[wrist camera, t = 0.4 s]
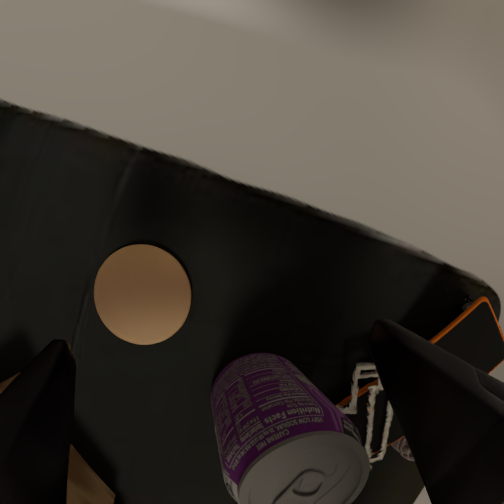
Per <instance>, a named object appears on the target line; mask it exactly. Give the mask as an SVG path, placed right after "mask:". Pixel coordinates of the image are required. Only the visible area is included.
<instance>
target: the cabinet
mask: <svg viewBox="0 0 504 504" xmlns="http://www.w3.org/2000/svg"><path fill="white" fill-rule="evenodd" d="M18 374H19V373H18ZM18 374H16V375H14V376H13V377H11V378H9V379H7V380H5V381H3V382H2V383H0V394H1V393H2V391H3V390H4V389H5V388H6V387H7V386H8V385H9V384H10V383H11V382H12V381H13V380H14V379H15V378H16V377H17V376H18ZM114 499H115V494H114V493H113V492H112V491H111V489H110V488H109V487H108V486H107V485H106V484H105V483H104V482H103V481H102V480H101V479H100V478H99V476H98V475H97V474H96V473H95V472H94V471H93V470H92V469H91V467H90V466H89V465H88V464H87V463H86V461H85V460H84V459H83V458H82V457H81V455H80V454H79V453H78V452H77V451H76V449H75V448H74V447H73V445H72V444H70V454H69V466H68V480H67V504H113V503H114Z"/></svg>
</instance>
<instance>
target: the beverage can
mask: <svg viewBox="0 0 504 504" xmlns="http://www.w3.org/2000/svg"><path fill="white" fill-rule="evenodd" d="M211 407H212V413H213V420H214V426H215V432H216V438H217V444H218V450H219V456H220V461H221V467H222V472H223V478H224V482H225V485H226V487H227V490H228V492H229V493H230V495H231V496H232V497H233V498H234V499H235V501H237V502H238V503H239V504H351V503H352V502H353V501H354V500H355V499H356V498H357V496H358V495H359V494H360V492H361V491H362V489H363V488H364V486H365V484H366V482H367V479H368V476H369V471H370V461H369V457H368V454H367V452H366V450H365V449H364V448H363V446H362V442H361V438H360V435H359V432H358V430H357V428H356V427H355V425H354V424H353V423H352V422H351V420H350V419H349V418H348V417H346V416H345V415H344V414H343V413H342V412H341V411H340V410H339V409H338V408H337V407H336V406H335V405H334V404H333V403H332V402H331V401H330V400H329V399H328V398H327V397H326V396H325V395H324V394H323V393H322V392H321V391H320V390H319V389H318V388H317V387H316V386H315V385H314V384H313V383H312V382H311V381H310V380H309V379H308V378H307V377H306V376H305V375H304V374H303V373H302V372H301V371H300V370H299V369H298V368H297V367H296V366H295V365H294V364H292V363H291V362H290V361H289V360H287V359H285V358H284V357H281V356H279V355H276V354H271V353H253V354H248V355H245V356H242V357H240V358H238V359H236V360H234V361H232V362H231V363H229V364H228V365H227V366H226V367H225V368H224V369H223V370H222V371H221V372H220V373H219V375H218V376H217V378H216V379H215V381H214V384H213V387H212V390H211Z"/></svg>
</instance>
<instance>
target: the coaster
mask: <svg viewBox="0 0 504 504" xmlns="http://www.w3.org/2000/svg"><path fill="white" fill-rule="evenodd" d="M94 300H95V306H96V309H97V312H98V314H99V316H100V318H101V320H102V321H103V323H104V324H105V325H106V327H107V328H108V329H109V330H110V331H111V332H112V333H113V334H115V335H116V336H117V337H119V338H121V339H123V340H125V341H127V342H130V343H134V344H140V345H149V344H155V343H159V342H161V341H164V340H166V339H168V338H169V337H171V336H172V335H173V334H175V333H176V332H177V331H178V330H179V329H180V328H181V326H182V325H183V323H184V322H185V320H186V318H187V316H188V313H189V310H190V305H191V287H190V282H189V279H188V276H187V274H186V272H185V270H184V269H183V267H182V265H181V264H180V263H179V262H178V260H176V259H175V258H174V257H173V256H172V255H171V254H169V253H168V252H166V251H165V250H163V249H161V248H158V247H155V246H151V245H145V244H135V245H130V246H126V247H123V248H121V249H119V250H117V251H116V252H114V253H113V254H112V255H110V256H109V257H108V258H107V259H106V261H105V262H104V263H103V264H102V266H101V267H100V269H99V271H98V274H97V277H96V280H95V285H94Z"/></svg>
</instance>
